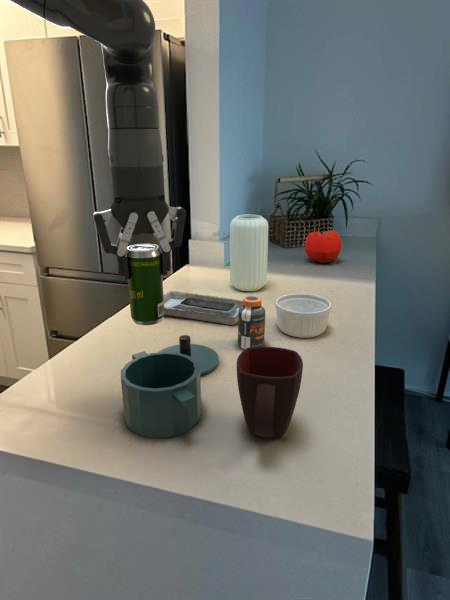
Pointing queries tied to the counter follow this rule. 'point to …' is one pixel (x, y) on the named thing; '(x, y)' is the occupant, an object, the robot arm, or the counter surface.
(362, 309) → the counter surface
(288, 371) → the cup
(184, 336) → the pot lid
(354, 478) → the counter surface
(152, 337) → the counter surface
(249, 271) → the vase
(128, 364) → the pot
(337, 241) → the tomato
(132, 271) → the beer can
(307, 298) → the ramekin
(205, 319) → the grey metal tray
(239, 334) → the pill bottle
